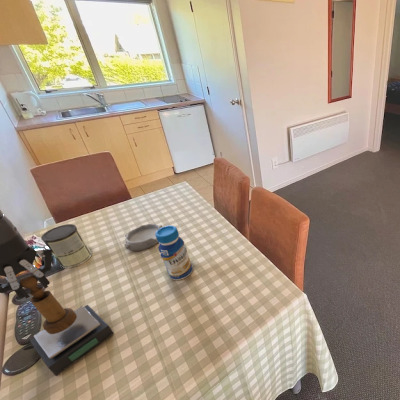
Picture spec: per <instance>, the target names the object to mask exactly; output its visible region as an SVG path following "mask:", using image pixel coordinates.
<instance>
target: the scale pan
mask: <svg viewBox="0 0 400 400" xmlns="http://www.w3.org/2000/svg"><path fill="white" fill-rule="evenodd" d="M84 307H85V306H83V305H81V306H79V307H78V308H76V309H75V310H73V311H74V312H75V313H76V315H77V318H76V320H75V322H74V323H73V324H72V325H71V326H70V327H68V328H67V329H65V330H64V331H62V332H59V333H56V334H49V333H47V331H46V330H45V329H44V328H43V329H42V330H41V331H39V332H37V333H36V334H34V335H33V338H35V339H36V340H37V342H38V343H39V344H40V346H41V347H42V349H43V350H44V351H45V353H46V354H47V356H48V357H49V358H50V359H52V358H53V357H55V356H56V355H58V354H59V353H61V352H62V351H64V350H65V349H67V348H68V347H69V346H71V345H72V344H74V343H75V342H77V341H78V340H80V339H81V338H82V337H84V336H85V335H87V334H88V333H90V332H91V331H93V330H94V329H96V328H97V327H98V326H100V325H101V324H100V323H99V322H98V321H97V320H96V319H95V318H94V317H93V316H92V315H91V314H90V313H89V312H88V311H87V310H86V309H85V308H84Z"/></svg>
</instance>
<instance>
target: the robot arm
mask: <svg viewBox="0 0 400 400" xmlns="http://www.w3.org/2000/svg"><path fill="white" fill-rule="evenodd" d="M37 255H38V256H39V257H40V258H41V264H40V267H37V266H36V265H35V264H34V262H35V260H36V256H37ZM52 257H53V254H52V250H51V249H50V248H49V247H48V246H47V245H44V246H42V248H41V247H40V248H34V247H31V246H29V244H28V243H27V242H26V240H25V239H24V237H23V236H22V235H21V233H20V231H19V230H18V228H17V227H16V226H15V225H14V224H13V222H12V221H11V220H10V219H9V218H8V217H7V216H6V215H5V214H4V213H3V211H2V210H1V209H0V277H4V278H5V280H6V281H7V283H1V282H0V294H5V293H7V292H8V291H14V293H15V294H16V295H17V296H18V297H19V298H20V299H24V298H25V299H28V298H30V297H31V296H30V295H29V294H28V292H27V291H26V290H25V288H23V287H22V286H20V283H19V281H18V279H17V276H18V275H19V274H20V273H22V272H26V271H29V272H30V273H31V274H32V275H33V276H35V277H36V278H37V279H38V282H39V283H40V285H41V287H42V288H44V289H48V288H49V285H50V283H51V282H50V280H49V279H48V278H47V276H46V275H45V274H46V273H47V272H50V271H51V270H52V260H53V258H52Z"/></svg>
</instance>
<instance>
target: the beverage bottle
mask: <svg viewBox="0 0 400 400" xmlns="http://www.w3.org/2000/svg"><path fill="white" fill-rule="evenodd" d="M155 235H156V238H157V240H158V242H157V243H159V244H158V252H159V253H160V258H161V259H162V261H163V264H164V266H165V268H166V270H167V273H168V276H169V278H170V279H171V280H174V281H180V280H184V279H186V278H188V277H189V276H190V275H191V274H192V273H193V270H194V268H193V267H194V266H193V265H192V262H191V259H190V255H189V253H188V248H187V246H186V244H185V240H183V238H182V237H180V233H179V230H178V228H177V226H175V225H165V226H162V228H160V229H159V230H157V231H156V233H155Z"/></svg>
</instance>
